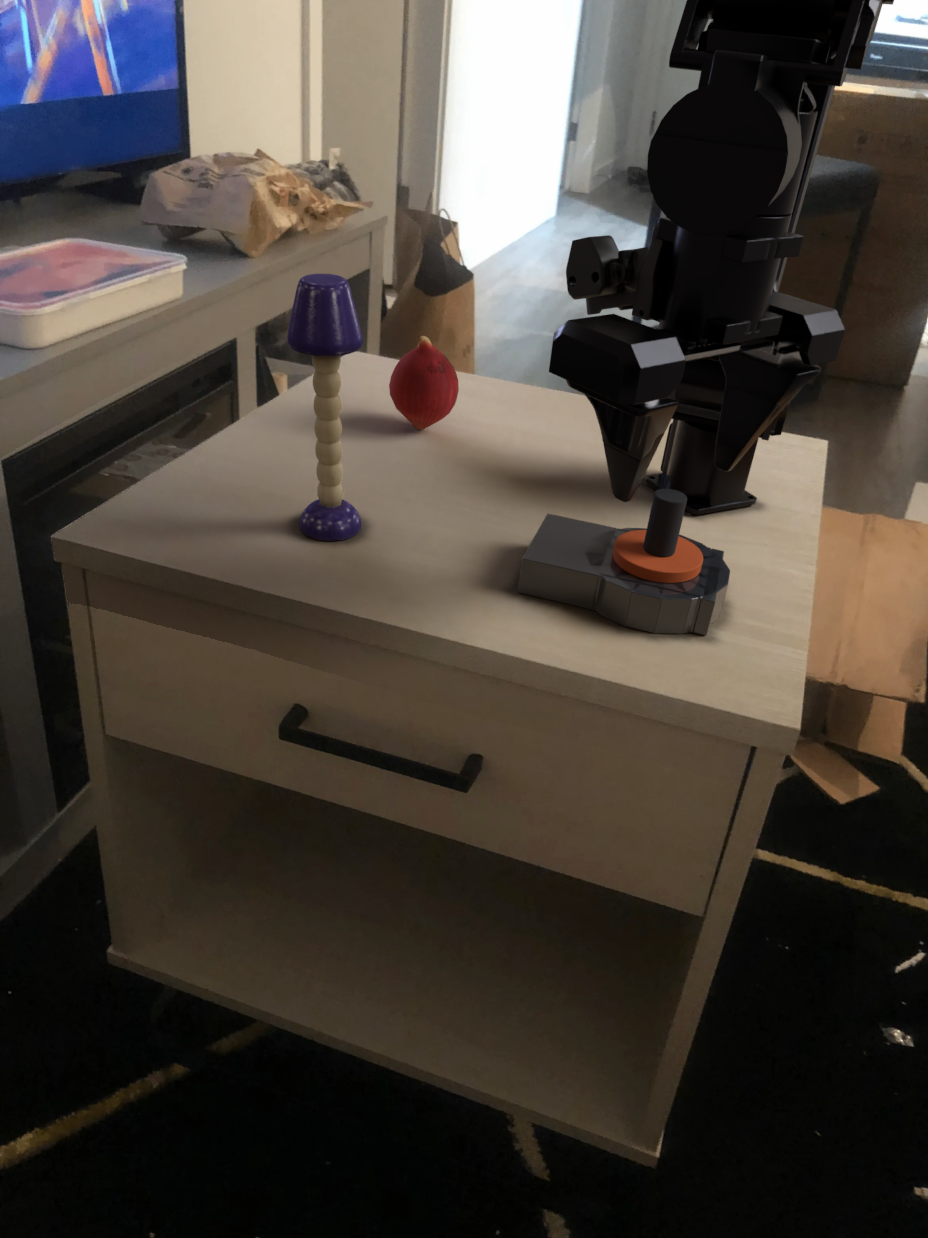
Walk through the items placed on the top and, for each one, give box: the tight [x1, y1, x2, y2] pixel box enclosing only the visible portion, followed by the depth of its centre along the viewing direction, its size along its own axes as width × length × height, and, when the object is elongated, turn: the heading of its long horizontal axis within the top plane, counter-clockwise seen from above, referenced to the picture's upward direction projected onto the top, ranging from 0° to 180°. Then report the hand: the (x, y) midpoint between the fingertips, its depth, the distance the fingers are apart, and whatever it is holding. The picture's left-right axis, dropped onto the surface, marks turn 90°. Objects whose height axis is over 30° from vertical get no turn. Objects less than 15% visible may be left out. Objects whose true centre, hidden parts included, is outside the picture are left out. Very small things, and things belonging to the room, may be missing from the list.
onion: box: [388, 335, 460, 431], centre depth 80 cm, size 6×6×8 cm
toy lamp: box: [286, 273, 364, 542], centre depth 61 cm, size 5×5×17 cm
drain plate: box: [517, 513, 731, 636], centre depth 61 cm, size 13×9×2 cm
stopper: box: [613, 489, 703, 583], centre depth 59 cm, size 6×6×7 cm
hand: (673, 483), depth 57 cm, fingers open, 9 cm apart
